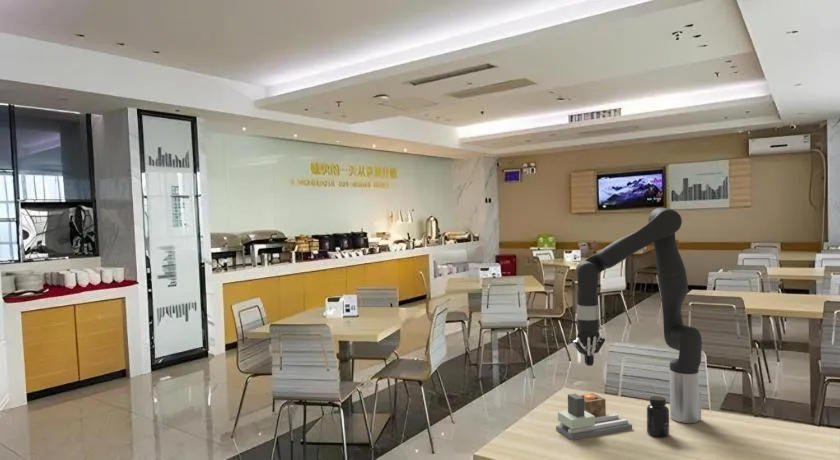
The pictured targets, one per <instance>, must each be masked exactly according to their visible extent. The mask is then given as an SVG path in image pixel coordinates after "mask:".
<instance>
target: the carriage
mask: <svg viewBox="0 0 840 460" xmlns="http://www.w3.org/2000/svg"><path fill="white" fill-rule="evenodd" d="M579 395H580V394H576V393H572V394H567V410H561V411H558V412H557V421H558V423H563V424H564V425H566V426H567V427H569V428H571V429H576V428H582V427H588V426H593V425H595V416H594V415H592V414H590V413H588V412H586V411H584V398H583V397H581V396H579Z"/></svg>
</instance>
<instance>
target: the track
mask: <svg viewBox="0 0 840 460" xmlns="http://www.w3.org/2000/svg"><path fill="white" fill-rule="evenodd" d="M632 429H633V423H632V424H631V423H629V420H628V419H627V418H623V419H622V418H620V417H619V414H617V413H613V414H607V415H606V416H600V417H595V425H593V426H588V427H582V428H576V429H571V428H569V427H567V426H566V425H564V424H563V423H561V422H559V424H558V425H555V430H556V432H557V433H558V432H559V433H560V434H561V435H563V436H565V437H566V438H568V439H569V440H570V441H575V440H580V439H585V438H591V437H597V436H601V435H607V434H613V433H618V432H624V431H629V430H632Z"/></svg>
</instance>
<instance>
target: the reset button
mask: <svg viewBox="0 0 840 460" xmlns="http://www.w3.org/2000/svg"><path fill="white" fill-rule="evenodd" d="M587 394H588V395H585V394H583V395H584V398H585V399H586V400H595V396H594V395H589V394H590V393H587Z"/></svg>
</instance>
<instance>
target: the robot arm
mask: <svg viewBox="0 0 840 460" xmlns="http://www.w3.org/2000/svg"><path fill="white" fill-rule="evenodd" d="M682 223H683V219H682V216H681V214H680V213H679V212H678V211H676V210H675V209H672V208H667V207H657V208H655V209H653V210H652V211H651V213H650V214H649V216H648V222H647V223H646V224H645V225H644V226H642V227H641V228H639V229H638V230H636V231H634V232H632V233H630V234H628V235H625V236H623V237H621V238H619V239H617V240H614V241H613V242H611V243H609V244H608V245H607V246H605V247H604V248H602V249H601V250H599V251H598V252H596V253H595V254H592V255H590V256H588V257H586V258H585V259H583V260H582V261H580V262H579V263H577V265H576V266H575V274H576V275H577V284H578V287H577V288H578V289H577V294H576V296H577V297H576V298H577V301H576V303H577V305H576V306H577V307H576V325H577V326H576V327H577V328H576V329H577V335H576V336H577V337H576V339H575V340H571V344H572V345H573V347H575V349H576V350H577V351H578V353H579V354H582V355H584V363H585V365H586V366H588V367H592V366H593V365H594V363H595V360H594V358H595V357H594V355H595V354H598V353H599V352H600V350H601V348H602V346H603V345H604V343H605V341H606V338H605V337H602V336H601V335H600V332H599V331H600V309H599V298H598V297H599V294H598V287H599V274H600V273H602V272H603V271H605V270H606V269H611V268H613V267H614V266H616V265H618V264H620V263H621V262H622V261H623V262H624V260H626V259H627V258H629V257H631V256H632V255H634V254H635V253H637V252H638V251H640V250H642V249H644V248H646V247H647V246H649V245H651V244H653V247H654V253H655V254H654V256H655V263H656V264H655V265H656V273H657V280H658V286H659V291H660V299H661V308H662V321H663V322H662V323H663V324H662V325H663V338H664V341H665V343H666V345H667V346H668V347H669V348H671V349H672V350H676V351H679V352H678V358H677V359H676V358H675V359H672V360H671V361H670V362H669V418H670V419H672V420H673V421H675V422H678V423H683V424H695V423H698V422H699V421H700V420H702V392H700V387H699V386H700V383H699V382H700V380H699V379H700V376H699V369H700V365H701V362H702V351H703V349H702V347H703V346H702V345H703V341H702V340H703V338H702V335H701V332H700V331H699V329H697V328H696V327H693V326H690V325H684V322H683V319H682V306H683V303H684V301H685V299H686V297H687V294H688V290H689V285H688V276H687V271H686V266H685V264H684V261H683V259H682V256H681V254H680V252H679V249H678V246H677V241H676V233H678V231H679V230H680V229H681V227H682Z"/></svg>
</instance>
